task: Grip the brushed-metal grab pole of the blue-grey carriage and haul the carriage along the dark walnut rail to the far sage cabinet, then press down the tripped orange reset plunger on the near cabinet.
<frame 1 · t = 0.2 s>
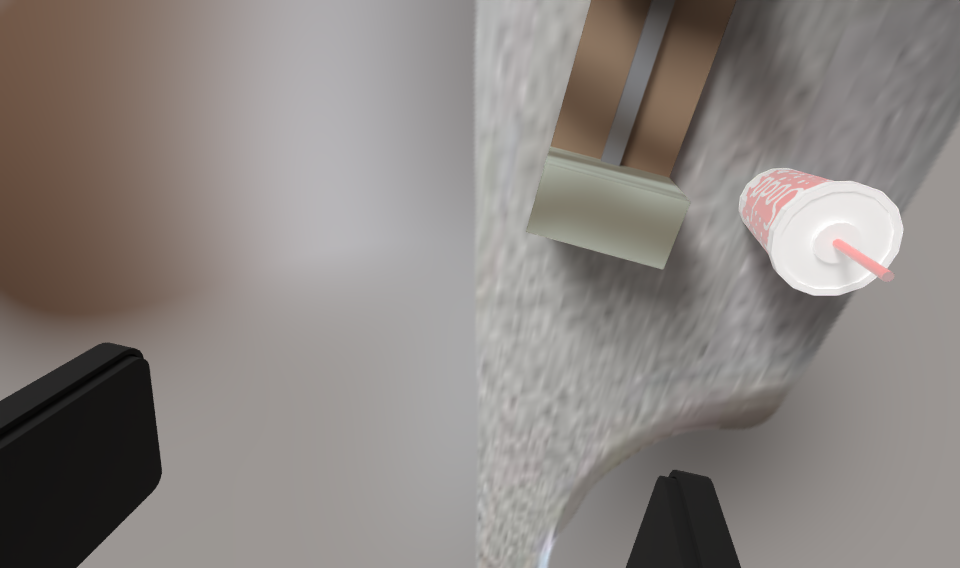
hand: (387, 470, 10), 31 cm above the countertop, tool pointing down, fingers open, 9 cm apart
beverage cup: (774, 201, 36), on the countertop
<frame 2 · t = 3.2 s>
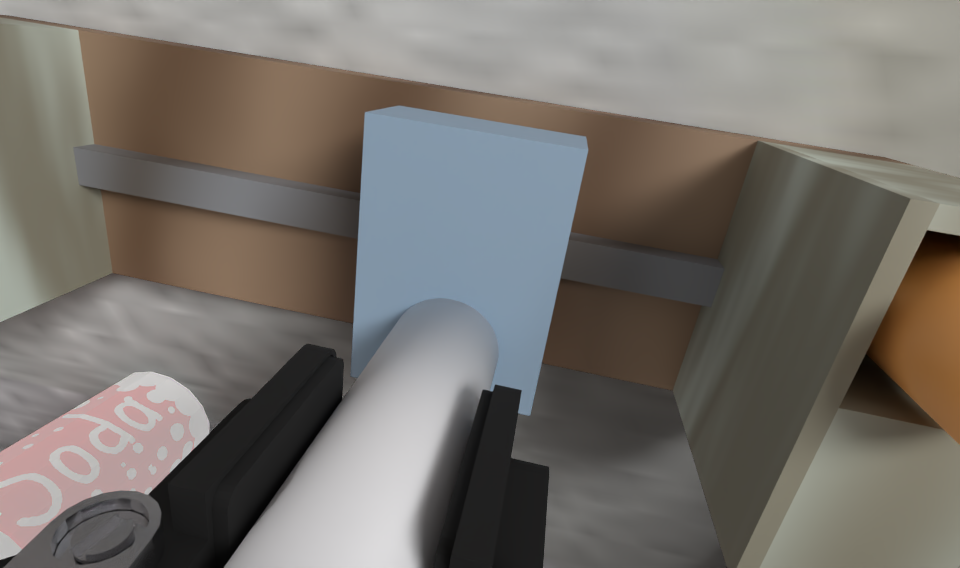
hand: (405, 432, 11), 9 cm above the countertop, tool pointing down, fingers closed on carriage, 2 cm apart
beverage cup: (165, 413, 24), on the countertop
rail stand: (400, 205, 18), on the countertop
carriage: (425, 327, 10), point 8 cm above the countertop, slide at 0.0 cm, touching gripper
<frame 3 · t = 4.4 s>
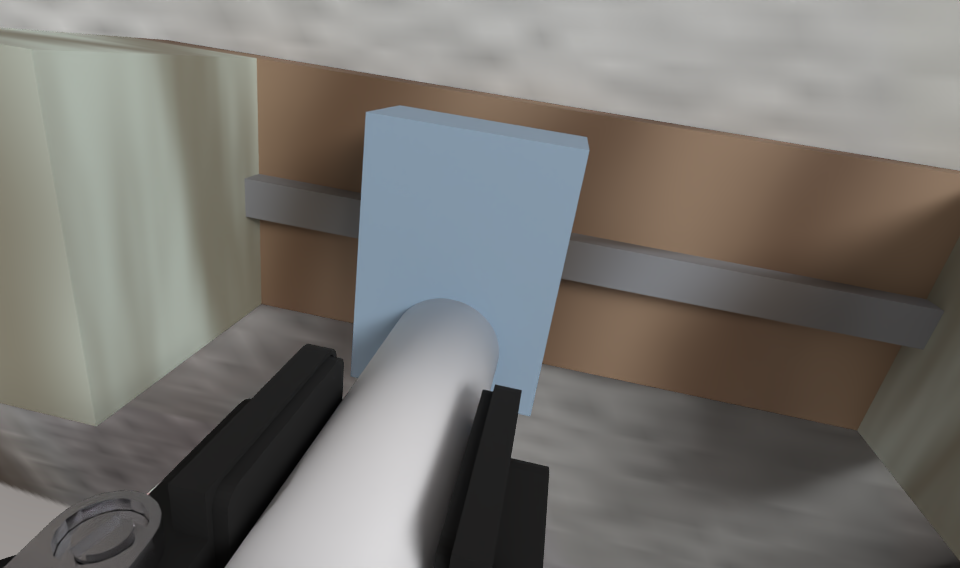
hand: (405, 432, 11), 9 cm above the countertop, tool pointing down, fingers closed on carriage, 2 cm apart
rail stand: (568, 237, 17), on the countertop
carriage: (426, 327, 10), point 8 cm above the countertop, slide at 5.8 cm, touching gripper
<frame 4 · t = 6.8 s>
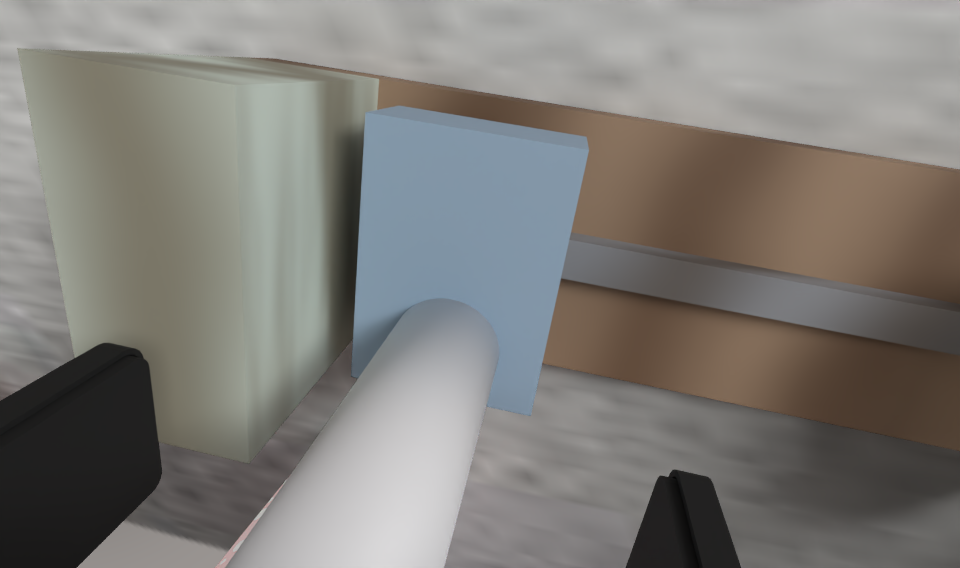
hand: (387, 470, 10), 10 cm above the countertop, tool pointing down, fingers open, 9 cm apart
beverage cup: (368, 461, 23), on the countertop
rail stand: (684, 258, 17), on the countertop
carriage: (426, 327, 10), point 8 cm above the countertop, slide at 9.5 cm
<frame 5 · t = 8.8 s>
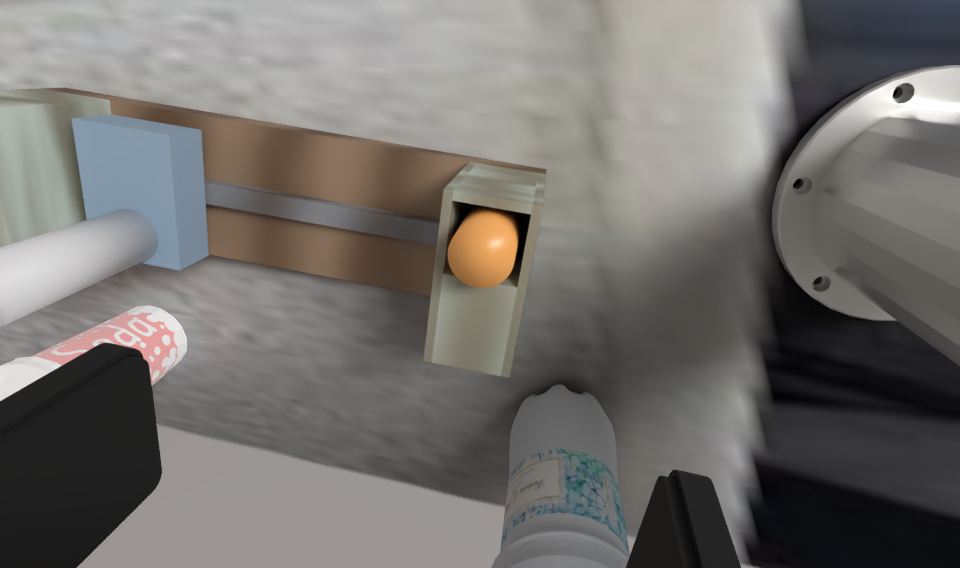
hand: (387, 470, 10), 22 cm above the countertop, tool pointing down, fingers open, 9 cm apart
beverage cup: (157, 334, 36), on the countertop
reset button: (487, 241, 22), point 8 cm above the countertop, slide at 0.0 cm
rail stand: (297, 197, 31), on the countertop
bottle: (561, 415, 35), on the countertop
carriage: (83, 211, 24), point 8 cm above the countertop, slide at 9.5 cm
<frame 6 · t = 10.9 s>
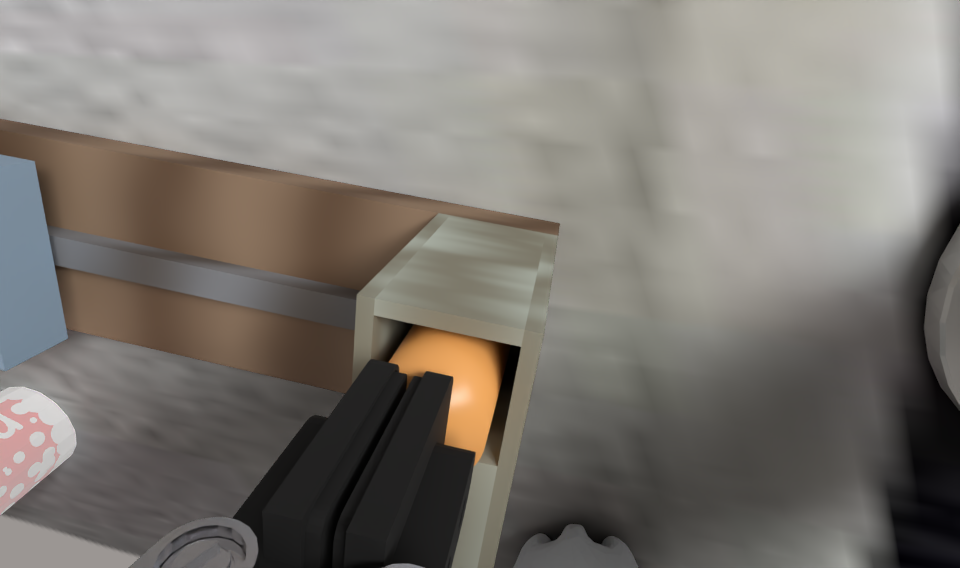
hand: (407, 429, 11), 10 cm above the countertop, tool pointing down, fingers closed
beverage cup: (39, 422, 27), on the countertop
reset button: (445, 376, 12), point 8 cm above the countertop, slide at 0.2 cm, touching gripper
rail stand: (199, 253, 22), on the countertop
bottle: (578, 559, 24), on the countertop
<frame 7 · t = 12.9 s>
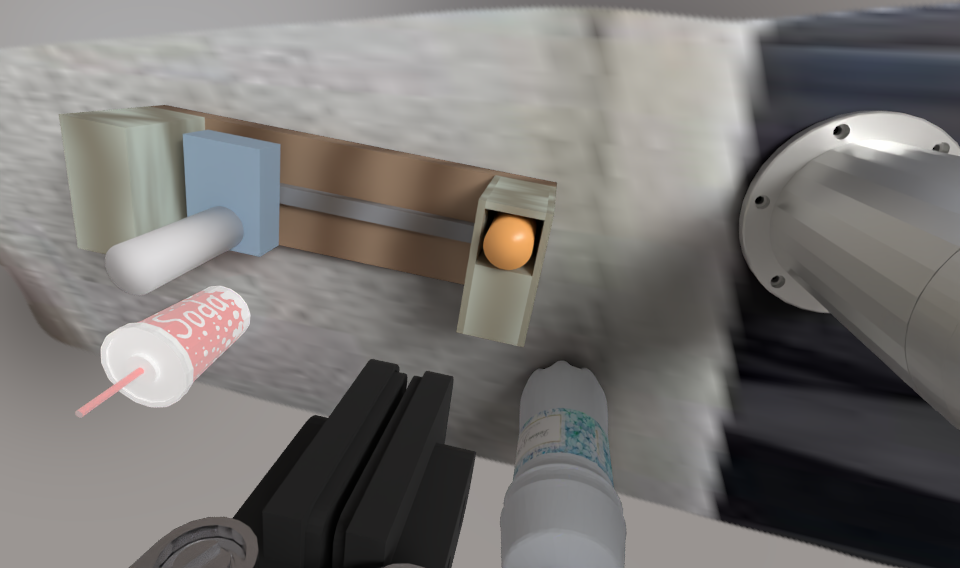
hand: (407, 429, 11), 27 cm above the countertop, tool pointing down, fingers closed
beverage cup: (225, 310, 43), on the countertop
reset button: (511, 235, 30), point 7 cm above the countertop, slide at 0.9 cm
rail stand: (351, 199, 38), on the countertop
bottle: (563, 387, 41), on the countertop
carriage: (194, 207, 31), point 8 cm above the countertop, slide at 9.5 cm
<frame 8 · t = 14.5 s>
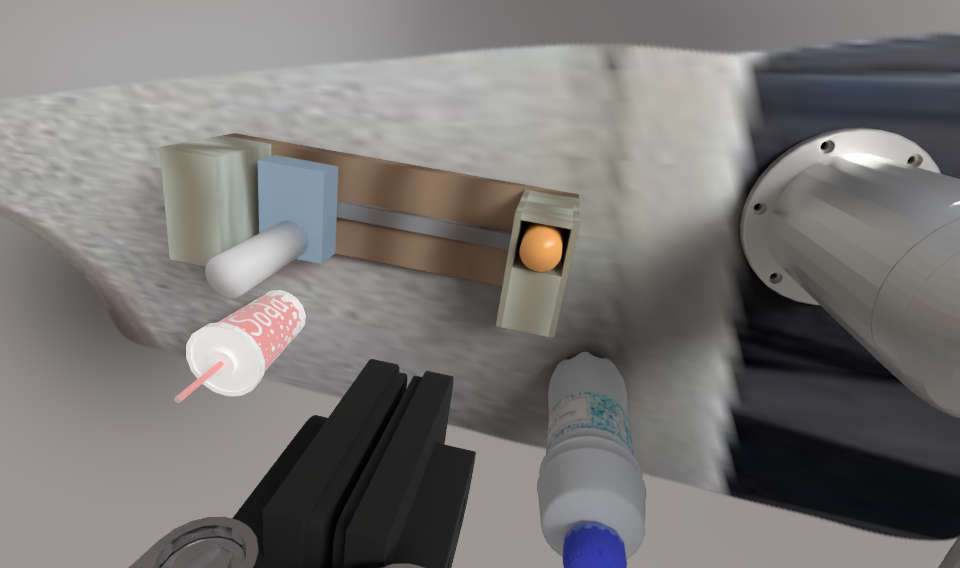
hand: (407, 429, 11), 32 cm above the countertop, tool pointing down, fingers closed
beverage cup: (283, 312, 49), on the countertop
reset button: (542, 242, 35), point 7 cm above the countertop, slide at 0.9 cm
rail stand: (396, 212, 43), on the countertop
bottle: (586, 376, 46), on the countertop
carriage: (270, 223, 36), point 8 cm above the countertop, slide at 9.5 cm
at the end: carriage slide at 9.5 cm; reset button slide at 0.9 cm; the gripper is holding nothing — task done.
